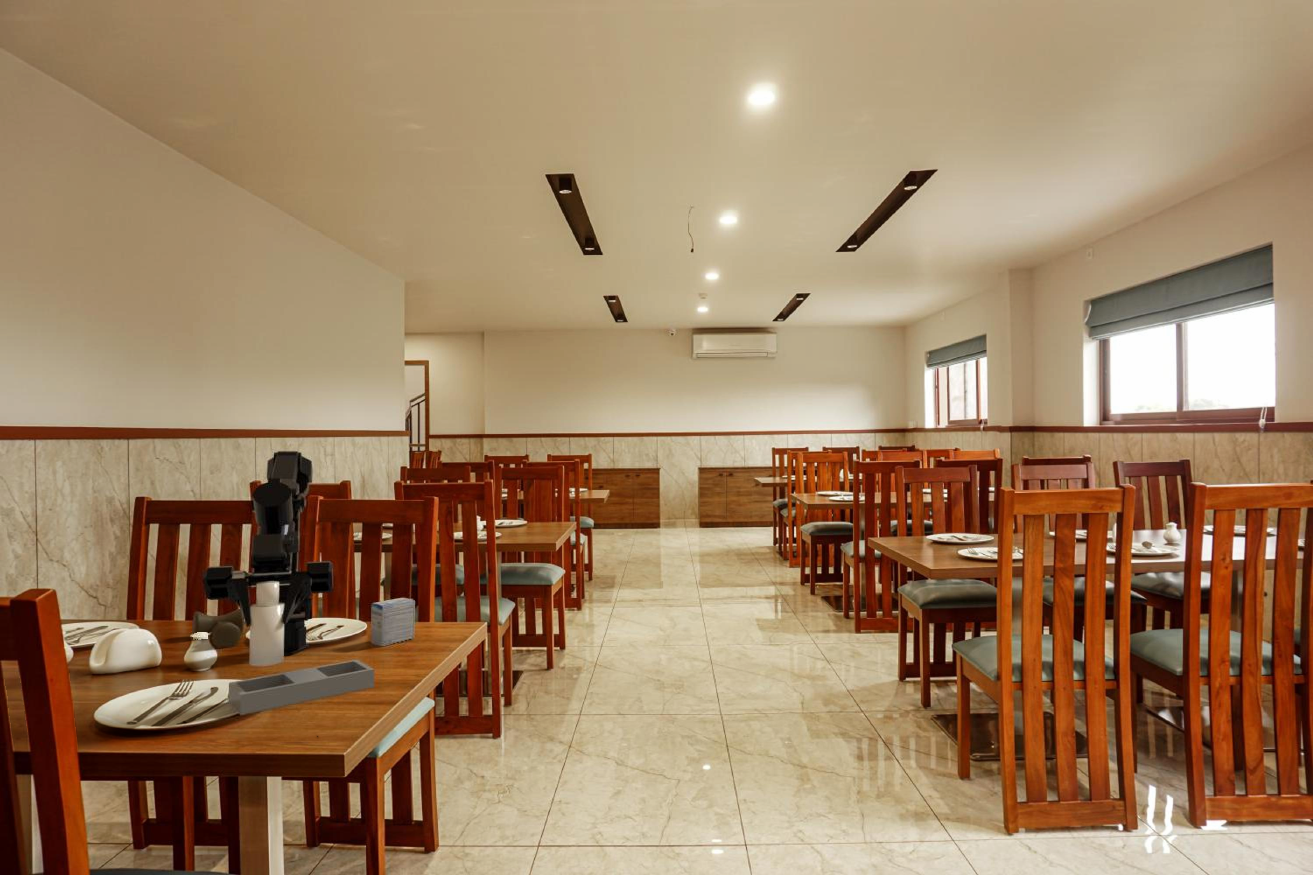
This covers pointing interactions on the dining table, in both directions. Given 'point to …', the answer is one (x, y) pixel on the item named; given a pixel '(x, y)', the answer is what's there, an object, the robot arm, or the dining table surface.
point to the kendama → (220, 627)
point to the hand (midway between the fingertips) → (266, 623)
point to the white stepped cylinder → (266, 626)
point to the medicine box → (392, 621)
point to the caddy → (299, 686)
